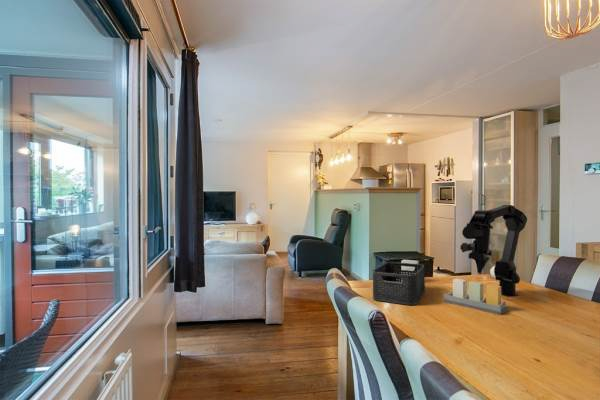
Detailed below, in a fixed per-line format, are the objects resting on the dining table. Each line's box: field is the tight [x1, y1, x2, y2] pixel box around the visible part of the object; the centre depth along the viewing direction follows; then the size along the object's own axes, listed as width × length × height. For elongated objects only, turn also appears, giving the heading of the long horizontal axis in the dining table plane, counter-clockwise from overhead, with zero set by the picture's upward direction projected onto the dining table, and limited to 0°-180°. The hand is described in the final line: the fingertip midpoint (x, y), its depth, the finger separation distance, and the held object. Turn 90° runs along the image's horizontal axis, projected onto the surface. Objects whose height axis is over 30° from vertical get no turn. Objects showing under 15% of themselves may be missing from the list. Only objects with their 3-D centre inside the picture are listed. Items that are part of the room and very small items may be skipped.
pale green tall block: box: [468, 280, 484, 301], centre depth 147 cm, size 4×4×8 cm
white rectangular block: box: [452, 277, 468, 298], centre depth 152 cm, size 4×4×8 cm
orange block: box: [485, 284, 502, 306], centre depth 142 cm, size 4×4×8 cm
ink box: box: [400, 259, 420, 275], centre depth 187 cm, size 9×5×12 cm, turn 62°
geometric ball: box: [489, 265, 496, 280], centre depth 192 cm, size 8×8×8 cm
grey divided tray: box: [443, 291, 509, 316], centre depth 146 cm, size 8×23×3 cm, turn 41°
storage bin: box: [372, 261, 426, 306], centre depth 162 cm, size 29×19×13 cm
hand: (479, 272), depth 154 cm, fingers closed
